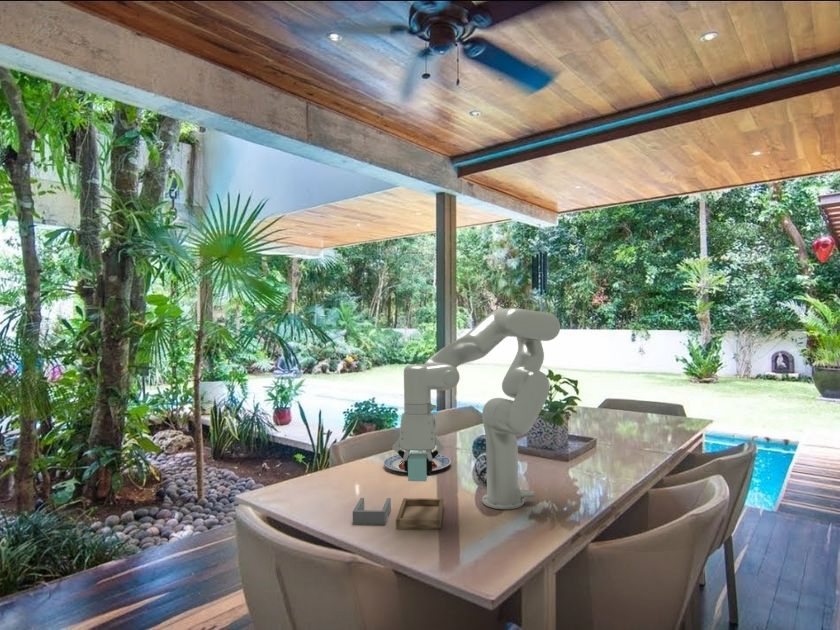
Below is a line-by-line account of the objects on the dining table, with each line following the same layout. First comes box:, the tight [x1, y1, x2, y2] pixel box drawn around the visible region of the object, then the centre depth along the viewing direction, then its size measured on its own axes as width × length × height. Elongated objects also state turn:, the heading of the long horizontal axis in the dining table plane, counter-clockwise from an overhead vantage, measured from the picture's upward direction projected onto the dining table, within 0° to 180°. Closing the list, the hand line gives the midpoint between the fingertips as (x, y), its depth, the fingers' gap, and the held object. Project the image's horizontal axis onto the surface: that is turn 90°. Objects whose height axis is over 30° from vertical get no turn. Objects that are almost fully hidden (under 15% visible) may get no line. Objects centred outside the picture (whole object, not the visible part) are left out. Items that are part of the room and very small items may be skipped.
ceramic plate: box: [383, 452, 452, 473], centre depth 197 cm, size 26×26×3 cm
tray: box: [395, 497, 444, 531], centre depth 146 cm, size 12×16×2 cm
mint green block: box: [407, 450, 429, 482], centre depth 146 cm, size 5×12×6 cm, turn 175°
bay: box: [352, 497, 392, 526], centre depth 147 cm, size 9×11×4 cm
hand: (418, 473), depth 144 cm, fingers closed on mint green block, 5 cm apart
